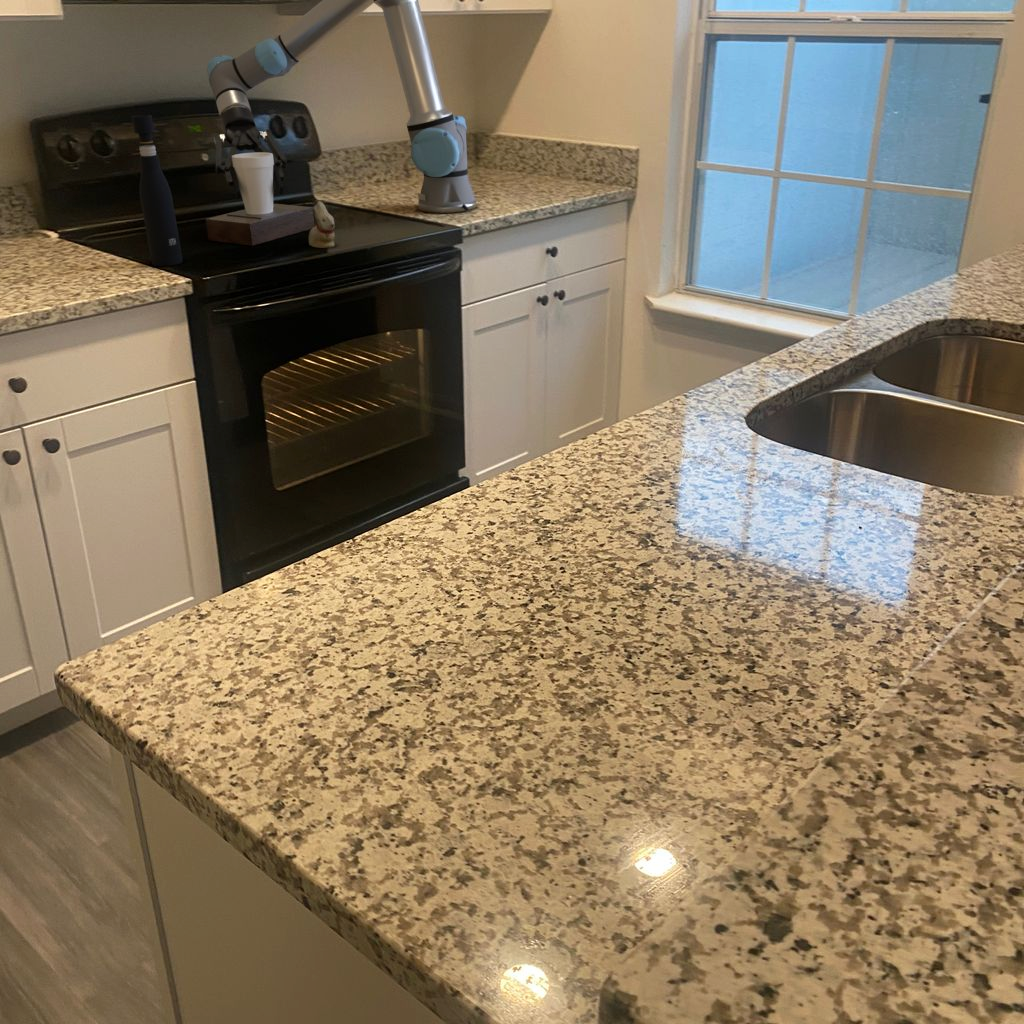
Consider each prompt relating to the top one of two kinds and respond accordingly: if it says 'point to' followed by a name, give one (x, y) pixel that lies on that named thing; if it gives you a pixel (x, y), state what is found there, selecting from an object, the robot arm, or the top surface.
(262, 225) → the slotted wooden box
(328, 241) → the chocolate bunny
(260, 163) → the foam cup
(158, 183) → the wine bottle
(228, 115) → the robot arm
